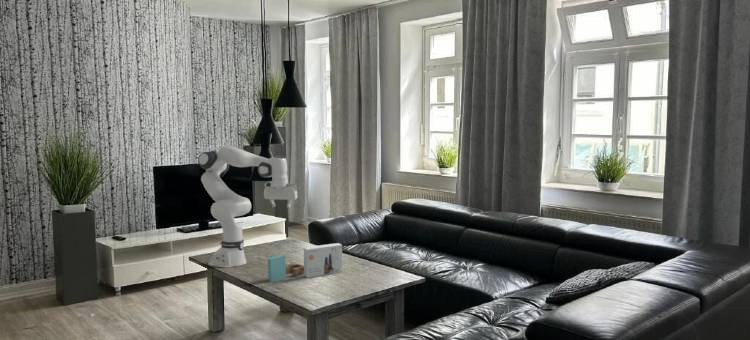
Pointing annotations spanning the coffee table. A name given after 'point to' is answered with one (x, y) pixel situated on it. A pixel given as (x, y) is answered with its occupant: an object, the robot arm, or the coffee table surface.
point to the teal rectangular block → (276, 268)
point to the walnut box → (295, 269)
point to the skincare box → (322, 260)
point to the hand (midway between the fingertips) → (281, 207)
